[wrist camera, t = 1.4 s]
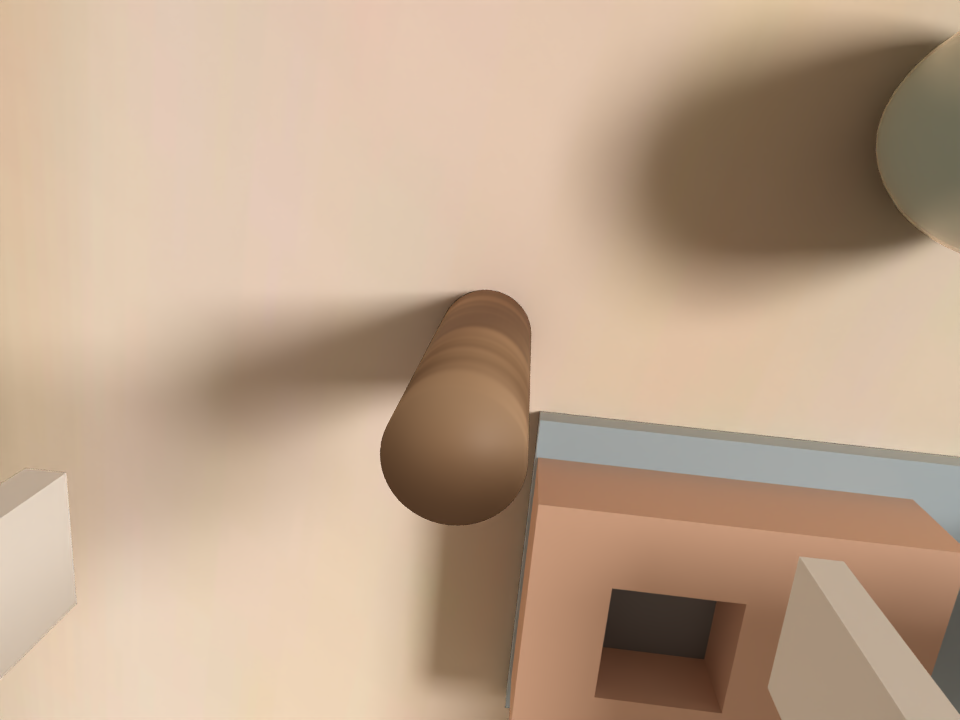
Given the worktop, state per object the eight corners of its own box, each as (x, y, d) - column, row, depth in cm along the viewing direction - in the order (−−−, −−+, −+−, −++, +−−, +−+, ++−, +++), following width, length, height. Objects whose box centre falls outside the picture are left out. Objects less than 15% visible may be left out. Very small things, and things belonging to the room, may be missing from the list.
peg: (444, 285, 29) (383, 380, 17) (535, 294, 29) (536, 397, 17) (438, 372, 30) (376, 516, 18) (526, 381, 30) (519, 533, 18)
